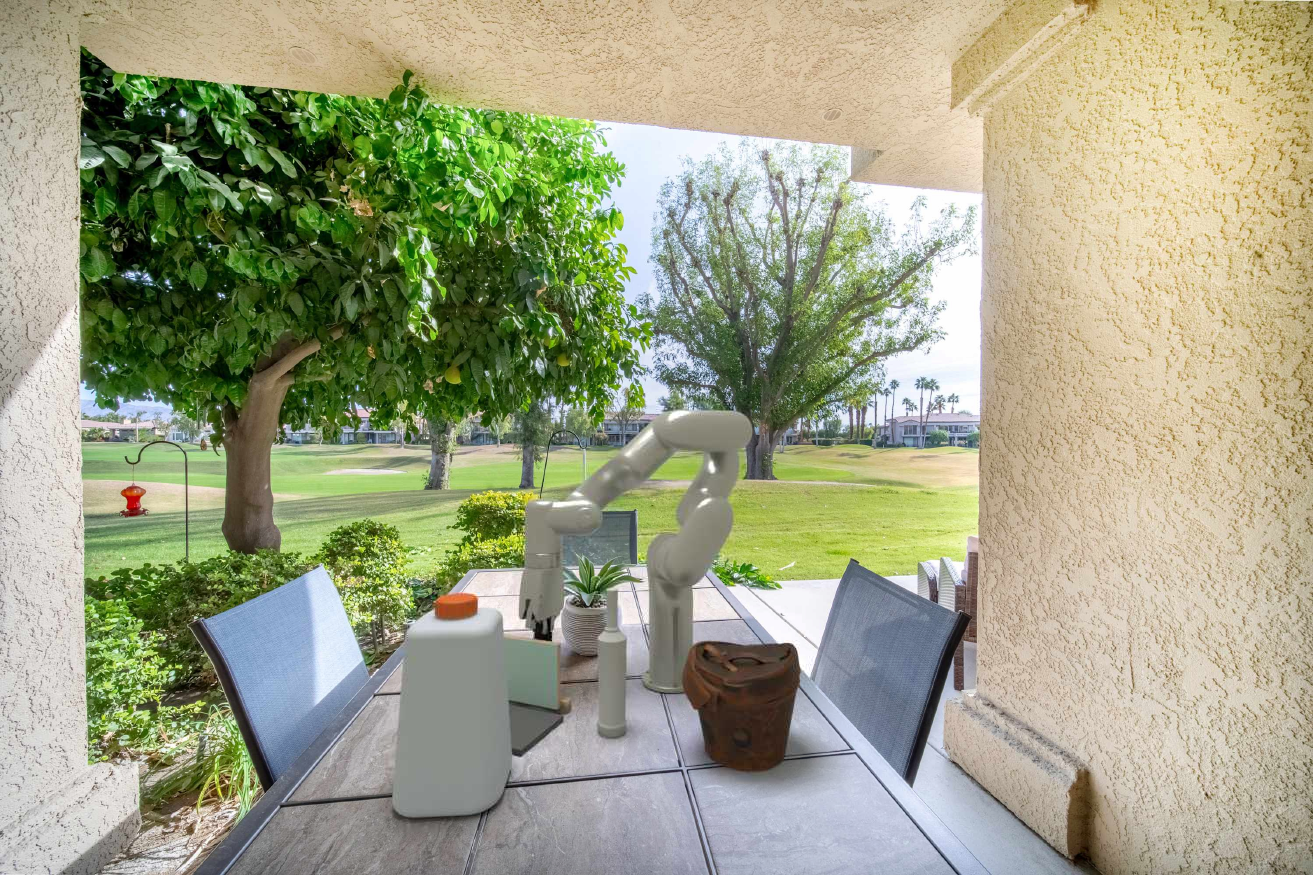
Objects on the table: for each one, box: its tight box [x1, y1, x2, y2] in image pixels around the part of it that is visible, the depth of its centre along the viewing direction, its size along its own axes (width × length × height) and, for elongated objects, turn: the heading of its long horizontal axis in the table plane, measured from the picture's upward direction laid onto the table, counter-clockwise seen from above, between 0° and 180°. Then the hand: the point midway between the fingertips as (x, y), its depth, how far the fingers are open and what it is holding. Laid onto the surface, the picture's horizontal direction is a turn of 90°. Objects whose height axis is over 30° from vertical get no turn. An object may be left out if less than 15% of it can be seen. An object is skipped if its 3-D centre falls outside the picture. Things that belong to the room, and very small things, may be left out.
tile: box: [504, 634, 562, 710], centre depth 110 cm, size 1×14×12 cm, turn 67°
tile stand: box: [508, 696, 572, 715], centre depth 111 cm, size 16×3×2 cm, turn 68°
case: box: [682, 640, 802, 772], centre depth 94 cm, size 18×20×18 cm
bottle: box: [597, 587, 628, 739], centre depth 101 cm, size 5×5×25 cm
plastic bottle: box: [391, 592, 513, 819], centre depth 84 cm, size 15×15×28 cm
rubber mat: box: [509, 705, 564, 757], centre depth 102 cm, size 18×13×1 cm
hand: (543, 651), depth 115 cm, fingers closed
